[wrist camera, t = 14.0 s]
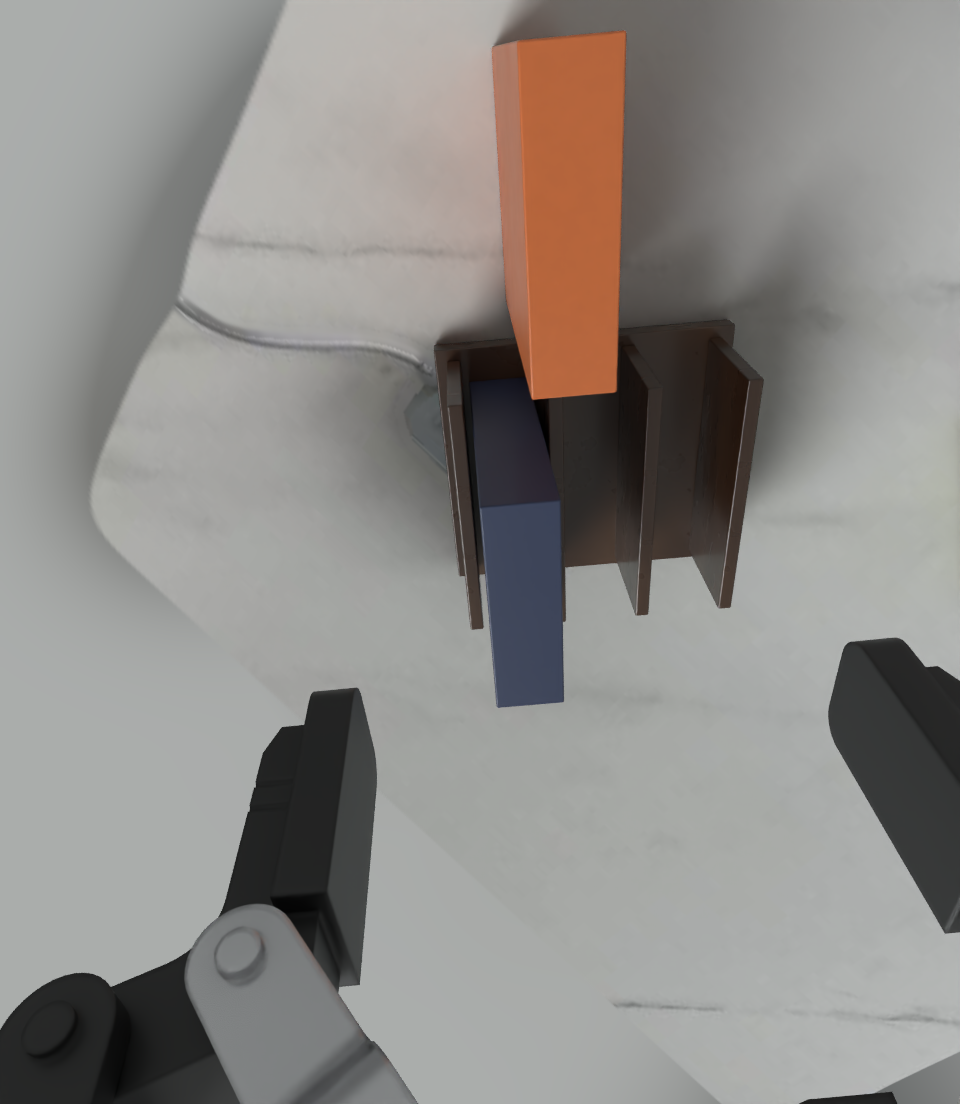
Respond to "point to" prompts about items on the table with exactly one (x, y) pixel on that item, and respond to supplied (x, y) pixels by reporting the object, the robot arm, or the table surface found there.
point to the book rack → (624, 455)
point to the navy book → (519, 543)
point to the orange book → (562, 205)
